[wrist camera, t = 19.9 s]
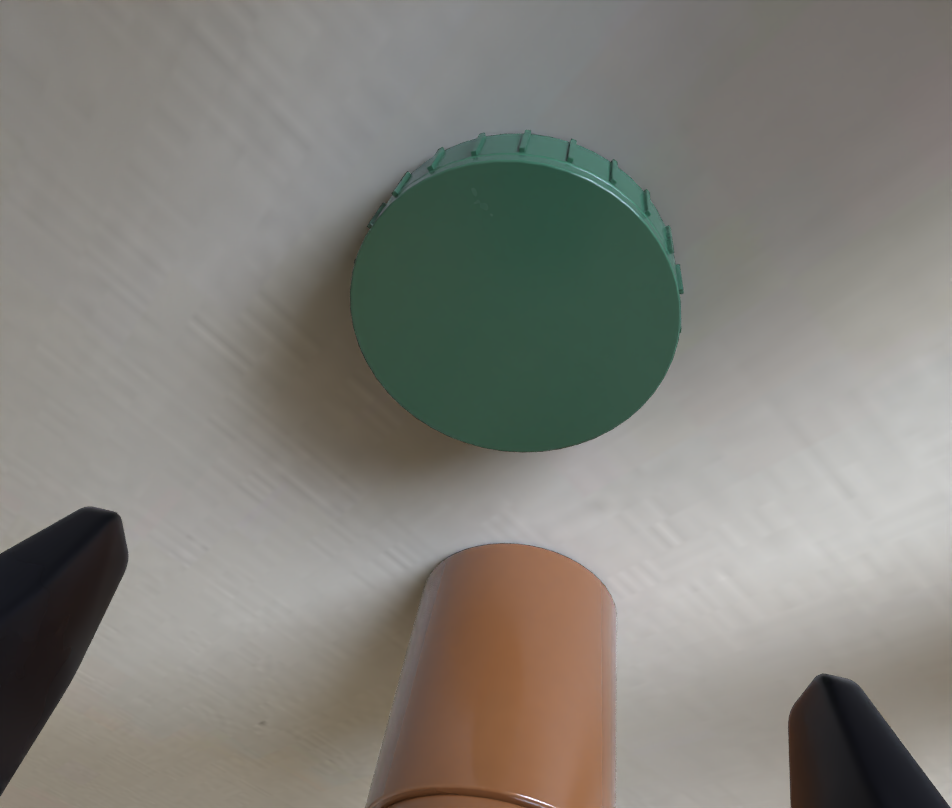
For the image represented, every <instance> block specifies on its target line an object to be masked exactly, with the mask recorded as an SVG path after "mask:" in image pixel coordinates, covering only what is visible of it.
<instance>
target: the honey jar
mask: <svg viewBox="0 0 952 808" xmlns="http://www.w3.org/2000/svg"><path fill="white" fill-rule="evenodd" d="M616 650H617V613H616V608H615V604H614V602H613V599H612V597H611V595H610V593H609V592H608V590H607V588H606V587H605V586H604V584H603V583H602V582H601V581H600V580H599V579H598V578H597V577H596V576H595V575H594V574H593V573H592V572H591V571H589V570H588V569H586V568H585V567H584V566H582V565H581V564H579V563H577V562H575V561H574V560H572V559H570V558H568V557H566V556H563V555H561V554H559V553H556V552H553V551H550V550H547V549H543V548H539V547H534V546H530V545H522V544H508V543H500V544H487V545H481V546H476V547H472V548H468V549H465V550H463V551H460V552H458V553H455V554H453V555H452V556H450V557H448V558H446V559H445V560H444V561H442V562H441V563H440V564H439V565H438V566H437V567H436V568H435V569H434V570H433V571H432V572H431V574H430V575H429V577H428V578H427V581H426V583H425V586H424V589H423V593H422V596H421V600H420V604H419V608H418V611H417V615H416V619H415V623H414V626H413V630H412V634H411V637H410V641H409V645H408V649H407V652H406V656H405V660H404V663H403V667H402V671H401V675H400V678H399V682H398V686H397V690H396V693H395V697H394V701H393V704H392V708H391V712H390V716H389V719H388V723H387V727H386V731H385V734H384V738H383V742H382V745H381V749H380V753H379V757H378V760H377V764H376V768H375V771H374V775H373V779H372V783H371V786H370V790H369V794H368V798H367V801H366V805H365V808H616Z"/></svg>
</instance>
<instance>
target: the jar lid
mask: <svg viewBox="0 0 952 808" xmlns="http://www.w3.org/2000/svg"><path fill="white" fill-rule="evenodd" d="M367 227H368V228H369V229H370V230H369V231H368V233H367V234H366V236H365V238H364V240H363V243H362V245H361V247H360V249H359V251H358V254H357V257H356V259H355V262H354V268H353V271H352V279H351V287H350V310H351V316H352V322H353V328H354V331H355V334H356V338H357V341H358V344H359V347H360V349H361V351H362V353H363V356H364V358H365V360H366V362H367V364H368V365H369V367H370V369H371V370H372V372H373V374H374V375H375V377H376V378H377V380H378V381H379V382H380V383H381V385H382V386H383V387H384V388H385V390H386V391H387V392H388V393H389V394H390V395H391V396H392V397H393V398H394V399H395V400H396V401H397V402H398V403H399V404H400V405H401V406H402V407H403V408H404V409H406V410H407V411H408V412H409V413H411V414H412V415H413V416H414V417H416V418H417V419H419V420H420V421H422V422H423V423H425V424H426V425H428V426H430V427H431V428H433V429H435V430H437V431H439V432H441V433H443V434H445V435H447V436H449V437H452V438H454V439H457V440H460V441H462V442H465V443H468V444H472V445H475V446H479V447H483V448H487V449H493V450H499V451H509V452H543V451H550V450H557V449H562V448H566V447H570V446H574V445H578V444H581V443H583V442H586V441H589V440H591V439H594V438H597V437H598V436H600V435H602V434H604V433H606V432H608V431H610V430H612V429H614V428H615V427H617V426H618V425H620V424H621V423H623V422H624V421H626V420H627V419H628V418H630V417H631V416H632V415H633V414H634V413H635V412H636V411H638V410H639V409H640V408H641V407H642V406H643V405H644V404H645V403H646V401H647V400H648V399H649V398H650V397H651V396H652V395H653V393H654V392H655V391H656V389H657V388H658V386H659V385H660V383H661V382H662V380H663V379H664V377H665V375H666V373H667V371H668V369H669V367H670V365H671V362H672V360H673V357H674V354H675V351H676V347H677V344H678V340H679V333H681V301H680V294H683V293H684V291H683V284H682V277H681V270H680V265H679V264H678V265H675V259H674V248H673V241H672V234H671V228H670V226H666V227H665V225H664V223H663V221H662V219H661V217H660V215H659V213H658V211H657V210H656V208H655V207H654V205H653V204H652V202H651V201H650V193H649V191H648V190H647V189H646V190H645V191H643V190H642V189H641V188H640V187H639V186H638V185H637V184H636V183H635V182H634V181H633V180H632V179H631V178H630V177H629V176H628V175H627V174H625V173H624V172H623V171H622V170H620V169H619V168H618V167H617V161H615V160H614V159H613V160H612V161H611V162H610V161H608V160H606V159H605V158H603V157H601V156H600V155H598V154H596V153H595V152H593V151H590V150H588V149H586V148H583V147H581V146H579V145H576V140H574V139H571V141H570V142H567V141H564V140H560V139H556V138H553V137H548V136H540V135H533V134H531V130H525V133H524V134H500V135H493V136H485V133H481V134H479V136H478V138H477V139H474V140H470V141H466V142H463V143H460V144H458V145H456V146H453V147H451V148H449V149H447V150H444V149H443V147H441V148H440V149H438V151H437V152H436V154H435V155H434V157H432V158H431V159H429V160H428V161H426V162H424V163H423V164H422V165H421V166H420V167H418V168H417V169H416V170H415V171H414V172H413V173H411V174H410V173H409V172H408V171H407V172H406V173H405V175H404V176H403V177H402V179H401V180H400V182H399V183H398V185H397V186H396V188H395V189H394V191H393V192H392V197H391V198H390V200H389V201H388V203H387V204H385V203H382V205H381V206H380V208H379V209H378V211H377V212H376V214H375V215H374V216H373V218H372V219H371V221H370V222H369V224H368V226H367Z"/></svg>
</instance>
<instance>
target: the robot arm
mask: <svg viewBox="0 0 952 808" xmlns="http://www.w3.org/2000/svg"><path fill="white" fill-rule="evenodd" d="M127 563H128V549H127V544H126V539H125V534H124V529H123V524H122V520H121V517H120V516H119V515H118V514H117V513H116V512H114V511H109V510H105V509H101V508H96V507H84V508H81V509H79V510H77V511H75V512H73V513H72V514H70V515H68V516H66V517H65V518H63V519H61V520H59V521H57V522H56V523H54V524H52V525H50V526H49V527H47V528H45V529H43V530H42V531H40V532H38V533H36V534H34V535H33V536H31V537H29V538H27V539H26V540H24V541H22V542H20V543H19V544H17V545H15V546H13V547H11V548H10V549H8V550H6V551H4V552H3V553H1V554H0V796H1V794H2V793H3V791H4V790H5V788H6V786H7V785H8V783H9V782H10V780H11V778H12V777H13V775H14V773H15V772H16V770H17V769H18V767H19V765H20V764H21V762H22V761H23V759H24V757H25V756H26V754H27V753H28V751H29V749H30V748H31V746H32V745H33V743H34V741H35V740H36V738H37V736H38V735H39V733H40V732H41V730H42V728H43V727H44V725H45V724H46V722H47V720H48V719H49V717H50V716H51V714H52V712H53V711H54V709H55V708H56V706H57V704H58V703H59V701H60V699H61V698H62V696H63V694H64V693H65V691H66V689H67V688H68V686H69V684H70V683H71V681H72V679H73V677H74V675H75V673H76V671H77V669H78V668H79V666H80V664H81V662H82V660H83V658H84V655H85V653H86V651H87V649H88V647H89V645H90V643H91V641H92V639H93V637H94V635H95V633H96V631H97V629H98V627H99V624H100V622H101V620H102V618H103V616H104V614H105V612H106V610H107V608H108V606H109V604H110V602H111V600H112V598H113V595H114V593H115V591H116V589H117V587H118V585H119V583H120V581H121V579H122V577H123V575H124V573H125V570H126V567H127ZM788 735H789V767H790V799H791V808H950V806H949V805H948V804H947V802H946V801H945V800H944V798H943V797H942V796H941V794H940V793H939V792H938V790H937V789H936V788H935V786H934V785H933V784H932V782H931V781H930V780H929V778H928V777H927V776H926V774H925V773H924V772H923V770H922V769H921V768H920V766H919V765H918V764H917V762H916V761H915V760H914V758H913V757H912V756H911V754H910V753H909V752H908V750H907V749H906V748H905V746H904V745H903V744H902V742H901V741H900V740H899V738H898V737H897V736H896V734H895V733H894V732H893V730H892V729H891V727H890V726H889V725H888V723H887V722H886V721H885V719H884V718H883V717H882V715H881V714H880V713H879V711H878V710H877V709H876V707H875V706H874V705H873V703H872V702H871V701H870V699H869V698H868V697H867V695H866V694H865V693H864V691H863V690H862V689H861V688H860V686H859V685H858V684H856V683H855V682H854V681H852V680H850V679H847V678H842V677H838V676H834V675H829V674H820V675H818V676H816V677H815V678H814V679H813V681H812V682H811V683H810V684H809V686H808V687H807V688H806V690H805V691H804V692H803V693H802V695H801V696H800V697H799V699H798V700H797V701H796V702H795V704H794V705H793V707H792V709H791V711H790V715H789V721H788Z"/></svg>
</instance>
